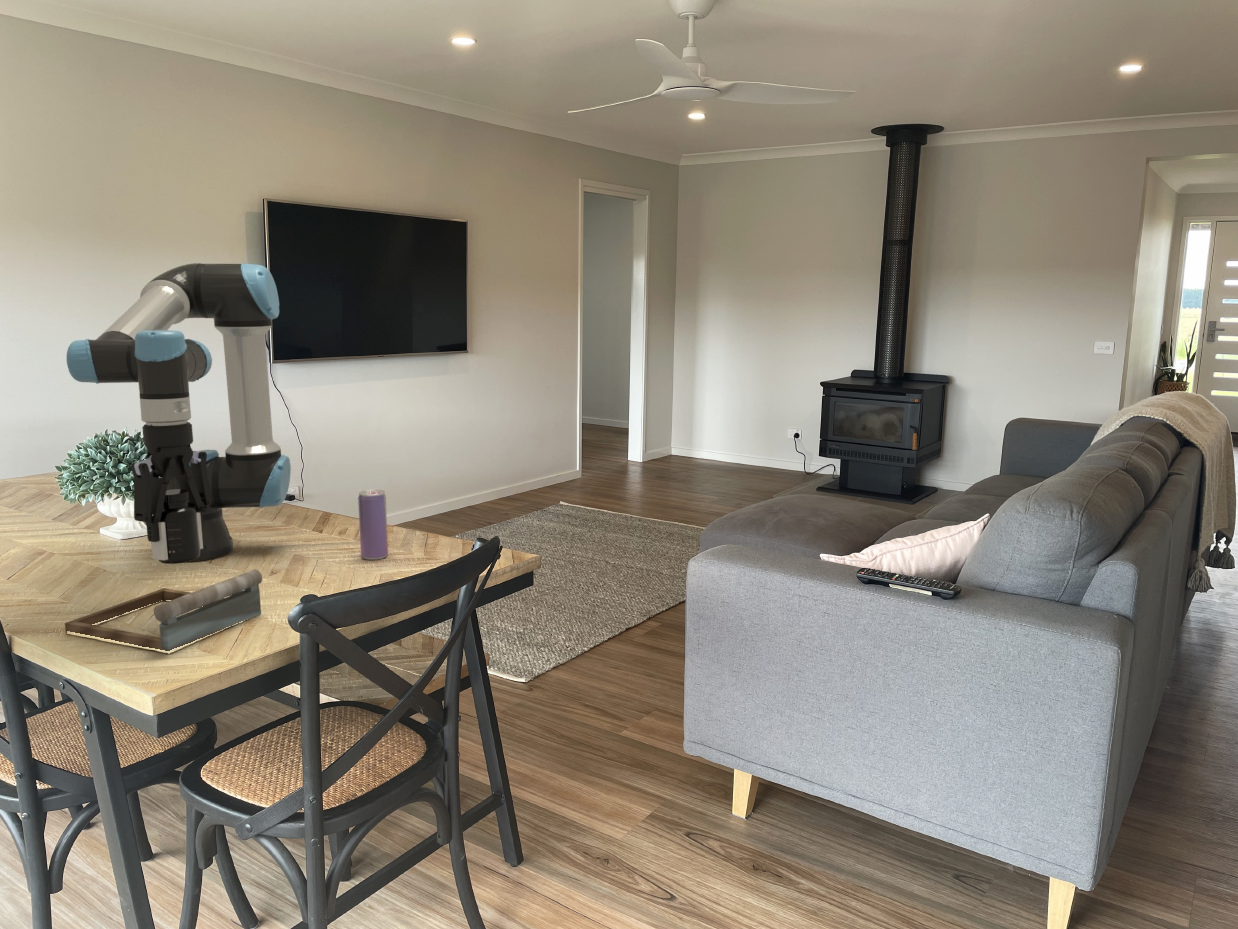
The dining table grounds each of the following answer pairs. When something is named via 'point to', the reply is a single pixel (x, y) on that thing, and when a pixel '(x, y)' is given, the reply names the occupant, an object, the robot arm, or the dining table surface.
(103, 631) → the bay
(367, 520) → the beverage can
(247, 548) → the dining table surface
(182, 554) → the supplement bottle
